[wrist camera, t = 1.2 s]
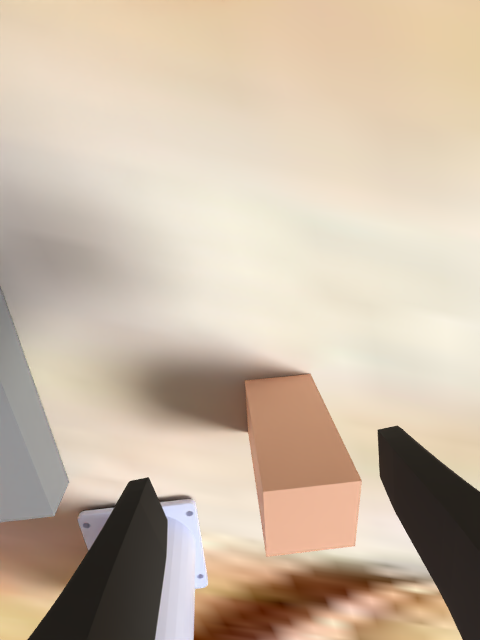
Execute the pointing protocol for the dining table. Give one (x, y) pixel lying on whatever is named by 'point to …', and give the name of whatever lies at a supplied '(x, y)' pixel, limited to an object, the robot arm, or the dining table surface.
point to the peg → (300, 468)
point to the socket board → (24, 437)
